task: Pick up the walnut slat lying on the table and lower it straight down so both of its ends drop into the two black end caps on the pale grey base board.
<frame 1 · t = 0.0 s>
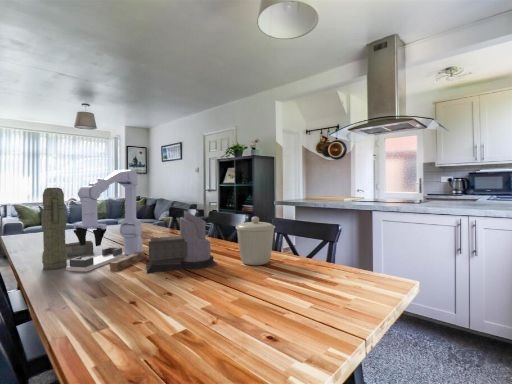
hand: (90, 245, 121), 10 cm above the table, tool pointing down, fingers open, 7 cm apart
walnut slat: (128, 264, 129), on the table
end cap cradle: (98, 262, 130), on the table
canister: (255, 263, 129), on the table
dark grey stone block: (71, 255, 146), on the table
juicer: (182, 266, 125), on the table
olive stone pillar: (55, 267, 124), on the table
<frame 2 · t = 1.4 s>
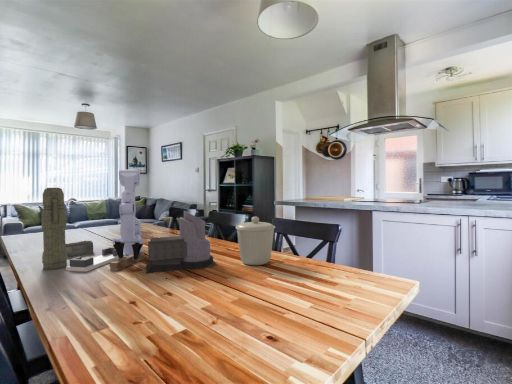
hand: (128, 258, 128), 2 cm above the table, tool pointing down, fingers open, 7 cm apart
nothing on the table moved.
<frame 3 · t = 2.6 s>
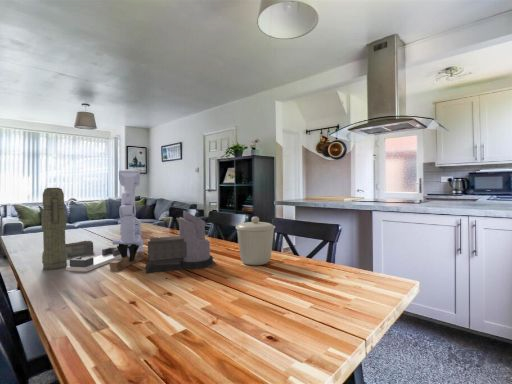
hand: (128, 260, 129), 1 cm above the table, tool pointing down, fingers closed on walnut slat, 3 cm apart
walnut slat: (128, 264, 129), on the table, touching gripper
everything else where it was.
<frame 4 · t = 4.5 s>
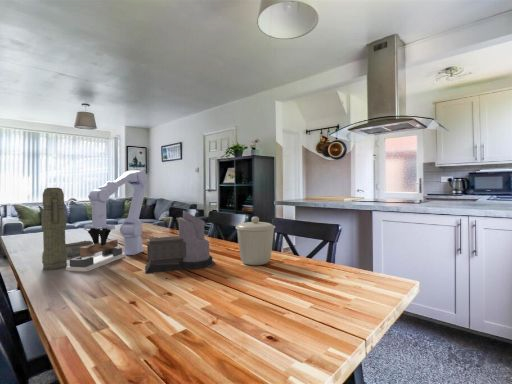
hand: (99, 244, 130), 8 cm above the table, tool pointing down, fingers closed on walnut slat, 3 cm apart
walnut slat: (100, 250, 130), point 6 cm above the table, touching gripper
everything else where it was.
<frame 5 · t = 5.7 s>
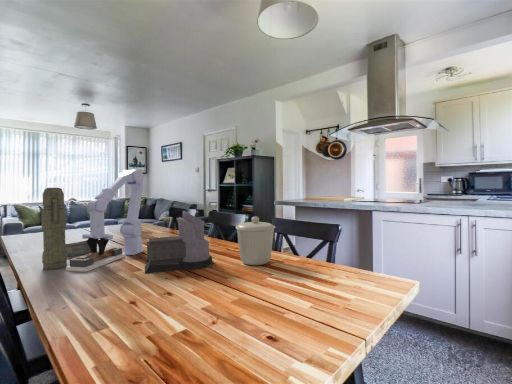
hand: (98, 254, 130), 4 cm above the table, tool pointing down, fingers closed on walnut slat, 3 cm apart
walnut slat: (98, 259, 130), point 1 cm above the table, touching end cap cradle, gripper
everything else where it was.
when the fingers open (4 cm above the table, at t = 6.2 s): walnut slat stays where it is, resting on end cap cradle.
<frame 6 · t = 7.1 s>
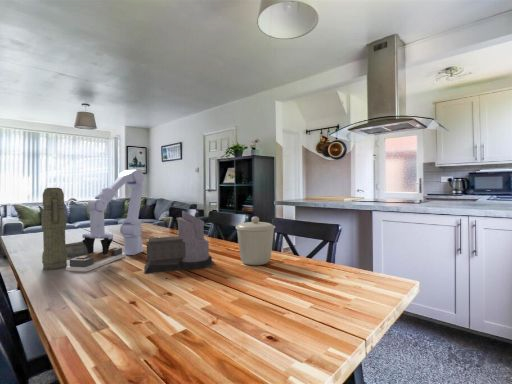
hand: (98, 254, 130), 4 cm above the table, tool pointing down, fingers open, 7 cm apart
walnut slat: (98, 259, 130), point 1 cm above the table, touching end cap cradle
everything else where it was.
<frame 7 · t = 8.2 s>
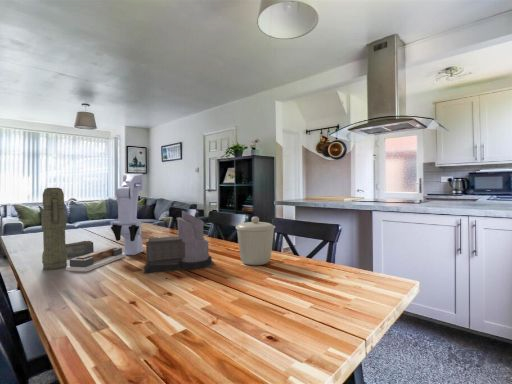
hand: (125, 240, 134), 9 cm above the table, tool pointing down, fingers open, 7 cm apart
nothing on the table moved.
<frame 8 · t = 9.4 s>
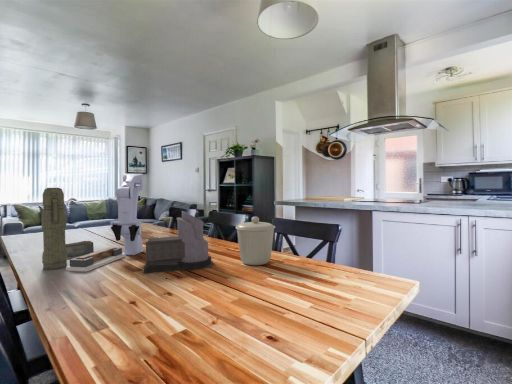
hand: (125, 240, 134), 9 cm above the table, tool pointing down, fingers open, 7 cm apart
at the end: walnut slat 0.1 cm off-centre on the end cap cradle, point 1.5 cm above the end cap cradle's base; walnut slat tilted 0°; the gripper is holding nothing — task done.
